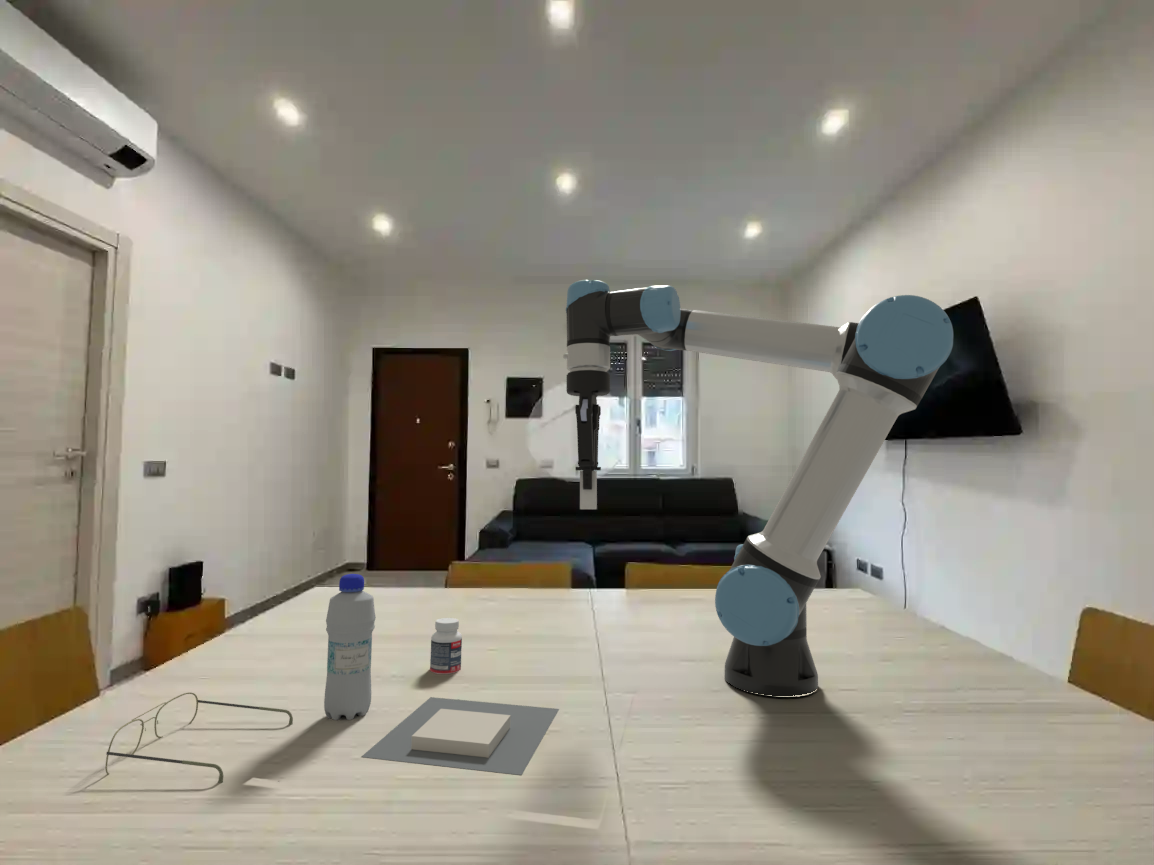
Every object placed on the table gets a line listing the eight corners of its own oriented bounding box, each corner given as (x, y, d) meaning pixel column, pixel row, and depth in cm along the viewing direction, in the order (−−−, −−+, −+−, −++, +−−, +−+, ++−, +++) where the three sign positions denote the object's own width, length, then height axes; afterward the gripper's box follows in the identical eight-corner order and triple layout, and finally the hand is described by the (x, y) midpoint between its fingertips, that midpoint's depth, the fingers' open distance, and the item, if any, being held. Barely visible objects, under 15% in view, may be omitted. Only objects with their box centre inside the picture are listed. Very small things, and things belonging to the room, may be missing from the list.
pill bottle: (453, 678, 105) (455, 625, 105) (424, 676, 106) (426, 623, 106) (465, 668, 110) (466, 617, 110) (437, 666, 111) (439, 615, 111)
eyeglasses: (186, 724, 86) (188, 686, 86) (292, 727, 85) (294, 690, 86) (92, 782, 70) (95, 736, 70) (222, 786, 69) (224, 740, 70)
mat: (559, 713, 91) (559, 708, 91) (521, 780, 71) (521, 774, 71) (430, 701, 94) (430, 697, 94) (360, 761, 75) (361, 756, 75)
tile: (510, 715, 84) (488, 744, 75) (510, 727, 84) (488, 758, 75) (440, 708, 86) (411, 736, 77) (440, 720, 86) (411, 749, 77)
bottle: (324, 729, 84) (330, 579, 85) (319, 711, 90) (325, 571, 91) (376, 720, 87) (381, 576, 88) (368, 704, 93) (372, 568, 94)
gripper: (572, 378, 115) (572, 506, 113) (560, 366, 102) (560, 511, 100) (613, 377, 113) (613, 507, 112) (605, 364, 101) (606, 511, 99)
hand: (588, 508), depth 106 cm, fingers closed
